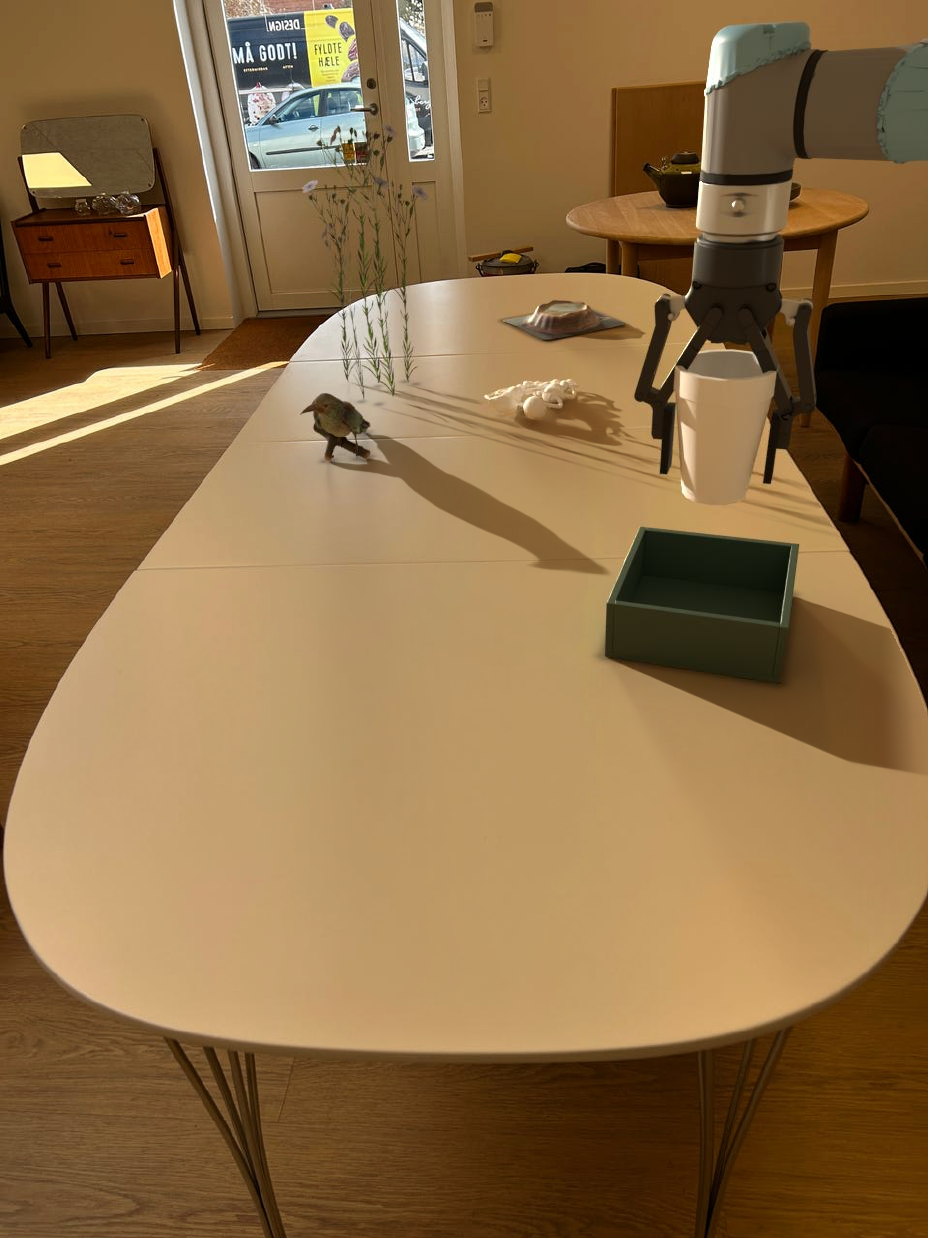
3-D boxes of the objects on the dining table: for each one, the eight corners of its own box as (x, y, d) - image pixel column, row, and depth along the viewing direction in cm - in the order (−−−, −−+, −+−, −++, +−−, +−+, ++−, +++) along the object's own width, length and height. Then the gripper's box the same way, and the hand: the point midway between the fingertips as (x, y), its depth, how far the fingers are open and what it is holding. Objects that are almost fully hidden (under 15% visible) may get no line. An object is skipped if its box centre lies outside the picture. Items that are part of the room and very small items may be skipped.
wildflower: (345, 369, 186) (314, 114, 162) (455, 373, 180) (439, 109, 156) (299, 408, 168) (256, 127, 144) (419, 414, 162) (395, 122, 138)
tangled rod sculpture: (528, 387, 174) (526, 365, 172) (598, 392, 167) (597, 368, 165) (471, 418, 161) (469, 394, 159) (544, 424, 153) (543, 399, 151)
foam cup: (675, 469, 99) (684, 347, 92) (765, 477, 96) (782, 351, 89) (659, 507, 92) (668, 377, 85) (757, 517, 89) (774, 383, 82)
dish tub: (791, 595, 106) (799, 543, 103) (779, 683, 92) (788, 628, 89) (637, 575, 112) (639, 526, 108) (604, 656, 98) (606, 603, 94)
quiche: (580, 306, 218) (580, 288, 216) (628, 325, 202) (628, 306, 200) (500, 320, 211) (499, 302, 209) (542, 341, 195) (542, 322, 193)
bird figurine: (335, 423, 158) (300, 340, 140) (391, 426, 156) (362, 343, 138) (316, 489, 153) (277, 411, 135) (374, 493, 150) (341, 415, 133)
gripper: (605, 240, 81) (598, 478, 93) (876, 244, 74) (831, 500, 86) (623, 224, 87) (615, 449, 99) (876, 226, 80) (834, 468, 92)
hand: (715, 473), depth 93 cm, fingers closed on foam cup, 9 cm apart
